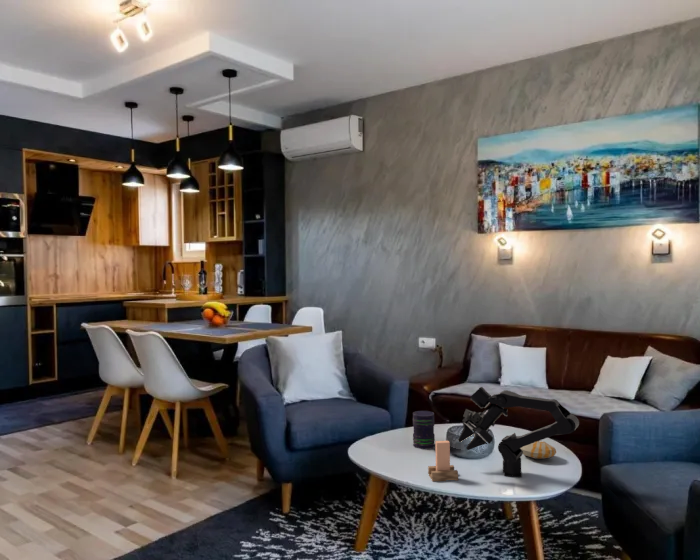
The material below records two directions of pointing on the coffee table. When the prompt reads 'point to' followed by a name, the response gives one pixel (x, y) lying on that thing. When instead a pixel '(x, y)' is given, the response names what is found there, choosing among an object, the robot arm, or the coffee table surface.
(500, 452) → the robot arm
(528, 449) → the nautilus
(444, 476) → the rack
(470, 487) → the coffee table surface
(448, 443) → the peach rectangular block
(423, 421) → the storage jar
